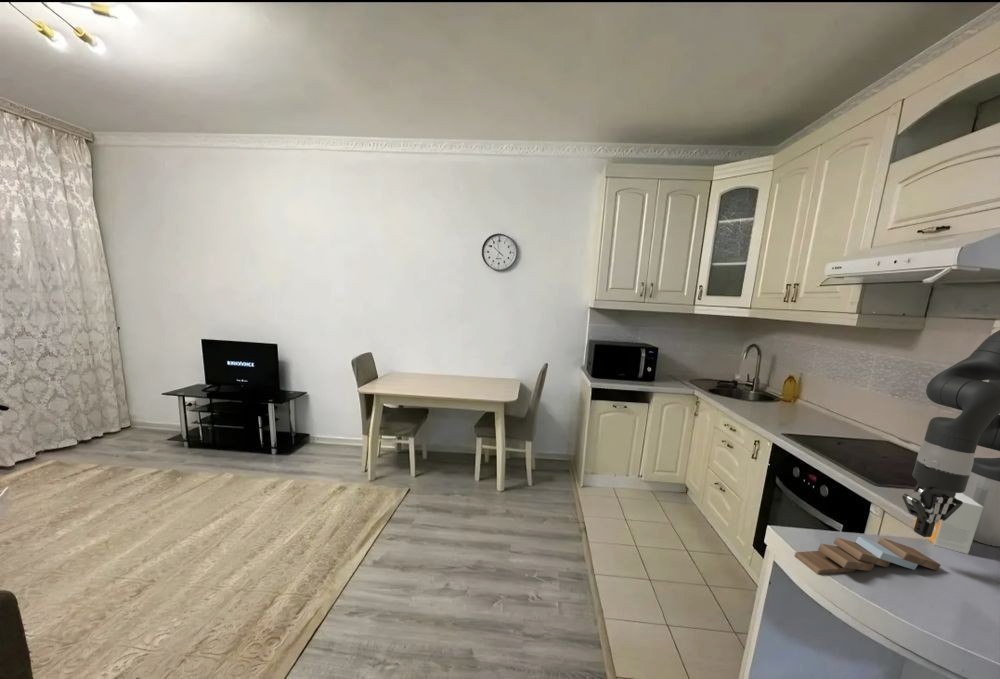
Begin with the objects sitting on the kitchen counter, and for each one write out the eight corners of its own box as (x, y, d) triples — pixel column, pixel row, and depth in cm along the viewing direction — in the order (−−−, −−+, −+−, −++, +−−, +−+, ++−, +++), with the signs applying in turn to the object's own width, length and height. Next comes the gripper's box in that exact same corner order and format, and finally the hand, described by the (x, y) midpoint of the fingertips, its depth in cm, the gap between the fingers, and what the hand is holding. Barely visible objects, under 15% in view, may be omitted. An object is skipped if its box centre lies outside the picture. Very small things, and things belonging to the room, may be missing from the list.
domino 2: (847, 547, 82) (820, 543, 79) (874, 564, 77) (847, 561, 74) (844, 553, 82) (817, 549, 79) (871, 571, 78) (843, 567, 75)
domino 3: (864, 544, 84) (836, 537, 81) (890, 561, 79) (862, 553, 76) (860, 550, 84) (833, 543, 81) (887, 567, 79) (859, 560, 77)
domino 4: (892, 547, 84) (858, 536, 83) (918, 564, 79) (883, 552, 78) (888, 553, 84) (855, 542, 83) (914, 570, 79) (879, 558, 78)
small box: (912, 526, 96) (925, 482, 94) (945, 535, 93) (959, 490, 91) (933, 545, 88) (947, 498, 86) (969, 555, 86) (985, 506, 84)
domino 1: (830, 549, 82) (795, 552, 80) (855, 567, 77) (818, 570, 75) (829, 555, 82) (793, 558, 80) (853, 573, 77) (816, 576, 75)
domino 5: (913, 548, 84) (880, 537, 83) (940, 564, 79) (906, 553, 78) (910, 553, 84) (877, 542, 83) (937, 570, 79) (903, 559, 78)
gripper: (945, 457, 83) (925, 523, 85) (896, 455, 81) (878, 523, 84) (992, 474, 75) (969, 546, 78) (940, 473, 74) (917, 546, 76)
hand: (921, 534), depth 81 cm, fingers closed
